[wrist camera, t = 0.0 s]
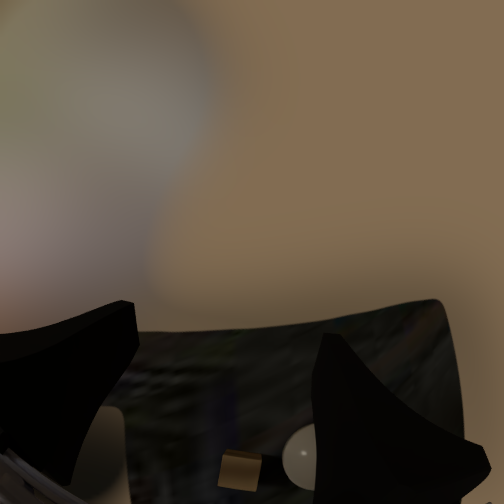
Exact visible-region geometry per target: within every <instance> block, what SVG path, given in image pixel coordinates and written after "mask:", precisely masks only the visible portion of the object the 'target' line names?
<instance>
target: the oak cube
mask: <svg viewBox="0 0 504 504" xmlns="http://www.w3.org/2000/svg"><path fill="white" fill-rule="evenodd" d="M261 462H262V457H261V454H258V453H250V452H243V451H237V450H231V449H227V450H226V451H225V453H224V454H223V459H222V464H221V470H220V475H219V481H218V486H222V487H227V488H233V489H240V490H247V491H255V492H256V489H257V484H258V478H259V473H260V468H261Z"/></svg>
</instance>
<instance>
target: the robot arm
mask: <svg viewBox="0 0 504 504" xmlns="http://www.w3.org/2000/svg"><path fill="white" fill-rule="evenodd" d="M139 345H140V343H139V337H138V330H137V323H136V315H135V307H134V303H132V302H128V301H123V300H120V301H116V302H113V303H110V304H107V305H104V306H102V307H99V308H97V309H94V310H91V311H89V312H86V313H84V314H81V315H79V316H76V317H73V318H70V319H67V320H64V321H61V322H59V323H56V324H52V325H49V326H46V327H42V328H37V329H34V330H29V331H22V332H15V333H8V334H0V504H45V503H43V502H42V501H41V500H39V499H38V498H37V497H36V496H35V495H34V490H33V488H34V489H35V490H37V491H38V492H40V493H41V494H42V495H44V496H45V497H46V498H48V499H49V500H51V501H52V502H53V503H55V504H88V503H87V502H85V501H83V500H81V499H79V498H78V497H76V496H74V495H72V494H71V493H69V492H68V491H66V490H64V489H63V488H61V487H60V486H58V485H57V484H55V483H54V482H52V481H51V480H49V479H48V478H46V477H45V476H44V475H42V474H41V473H39V472H38V471H40V472H42V473H44V474H45V475H47V476H48V477H49V478H51V479H52V480H54V481H55V482H57V483H58V484H60V485H62V486H67V485H70V483H71V478H72V475H73V471H74V467H75V463H76V460H77V457H78V455H79V452H80V449H81V446H82V443H83V441H84V439H85V436H86V434H87V432H88V430H89V427H90V425H91V423H92V421H93V419H94V417H95V415H96V413H97V411H98V409H99V407H100V406H101V404H102V403H103V401H104V400H105V398H106V397H107V395H108V394H109V393H110V391H111V390H112V388H113V387H114V386H115V384H116V383H117V381H118V380H119V379H120V377H121V376H122V374H123V373H124V372H125V370H126V369H127V367H128V366H129V364H130V363H131V361H132V359H133V357H134V355H135V353H136V351H137V349H138V347H139ZM311 399H312V409H313V419H314V429H315V439H316V476H315V488H314V499H313V504H459V500H460V499H461V498H463V497H464V496H465V495H467V494H468V493H469V492H470V491H472V490H473V489H474V488H476V487H477V486H478V485H479V484H480V483H481V482H482V481H484V480H485V479H486V477H487V476H488V475H489V473H490V471H491V469H492V468H491V466H490V463H489V461H488V458H487V456H486V453H485V451H484V449H483V447H482V446H481V445H478V444H475V443H472V442H470V441H467V440H465V439H462V438H460V437H457V436H455V435H453V434H451V433H449V432H447V431H445V430H444V429H442V428H440V427H438V426H436V425H435V424H433V423H431V422H430V421H428V420H426V419H425V418H424V417H422V416H421V415H419V414H418V413H416V412H415V411H413V410H412V409H411V408H409V407H408V406H407V405H405V404H404V403H403V402H402V401H401V400H400V399H398V398H397V397H396V396H395V395H394V394H393V393H391V392H390V391H389V390H388V389H387V388H386V387H385V386H384V385H383V384H382V383H381V382H380V381H379V380H378V379H377V378H376V377H375V376H374V374H373V373H372V372H371V371H370V370H369V369H368V368H367V367H366V365H365V364H364V363H363V362H362V361H361V360H360V358H359V357H358V356H357V355H356V353H355V352H354V351H353V350H352V349H351V347H350V346H349V345H348V343H347V342H346V341H345V340H344V339H343V337H342V336H341V335H340V334H330V333H323V337H322V341H321V345H320V348H319V352H318V355H317V359H316V362H315V366H314V369H313V372H312V390H311ZM33 467H34V468H36V469H37V470H38V471H37V470H35V469H34V468H33ZM31 486H32V487H33V488H32V487H31ZM487 504H492V503H491V502H488V503H487Z"/></svg>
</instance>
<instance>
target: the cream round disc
mask: <svg viewBox="0 0 504 504" xmlns="http://www.w3.org/2000/svg"><path fill="white" fill-rule="evenodd" d="M282 464H283V467H284V470H285V472H286V474H287V476H288V477H289V479H290V480H291V481H292V482H293V483H294V484H296V485H298V486H299V487H302V488H304V489H308V490H314V488H315V476H316V439H315V429H314V423H311V424H308V425H305V426H303V427H302V428H300V429H298V430H297V431H296V432H294V433H293V434H292V435H291V436H290V438H289V439H288V440H287V442H286V444H285V446H284V448H283V452H282Z"/></svg>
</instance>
